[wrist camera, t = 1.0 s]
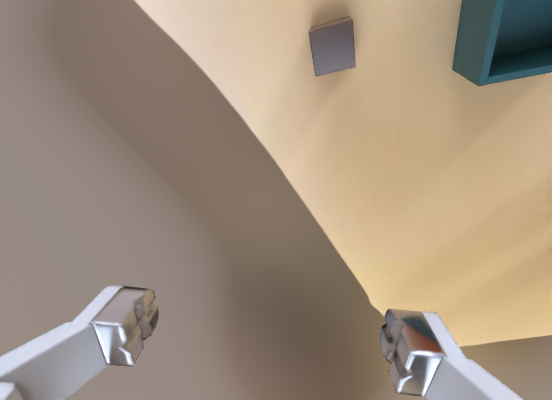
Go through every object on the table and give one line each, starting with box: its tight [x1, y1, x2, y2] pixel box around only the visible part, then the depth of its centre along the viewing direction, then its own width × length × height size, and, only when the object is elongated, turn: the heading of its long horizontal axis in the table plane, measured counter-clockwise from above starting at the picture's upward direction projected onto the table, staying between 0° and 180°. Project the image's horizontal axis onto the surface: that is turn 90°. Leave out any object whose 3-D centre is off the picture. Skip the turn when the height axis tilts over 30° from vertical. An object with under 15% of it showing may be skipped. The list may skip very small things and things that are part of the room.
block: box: [309, 16, 355, 76], centre depth 33 cm, size 5×5×5 cm
